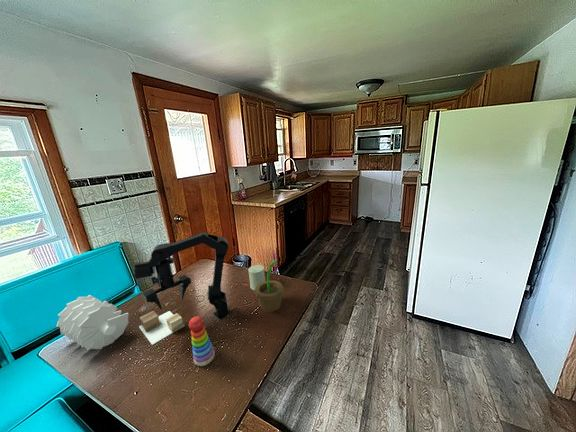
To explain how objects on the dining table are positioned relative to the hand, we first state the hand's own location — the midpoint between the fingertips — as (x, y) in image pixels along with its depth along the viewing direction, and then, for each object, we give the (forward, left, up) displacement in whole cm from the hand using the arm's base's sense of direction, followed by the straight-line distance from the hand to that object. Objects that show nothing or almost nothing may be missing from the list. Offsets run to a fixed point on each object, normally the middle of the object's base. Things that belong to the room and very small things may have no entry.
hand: (171, 303), depth 104 cm
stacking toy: (-27, +1, -12) cm, 30 cm away
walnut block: (+10, +8, -12) cm, 17 cm away
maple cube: (-1, +1, -12) cm, 12 cm away
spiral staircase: (+22, +26, -12) cm, 36 cm away
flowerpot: (-25, -37, -12) cm, 47 cm away
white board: (+6, +5, -12) cm, 14 cm away
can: (-6, -45, -12) cm, 47 cm away
